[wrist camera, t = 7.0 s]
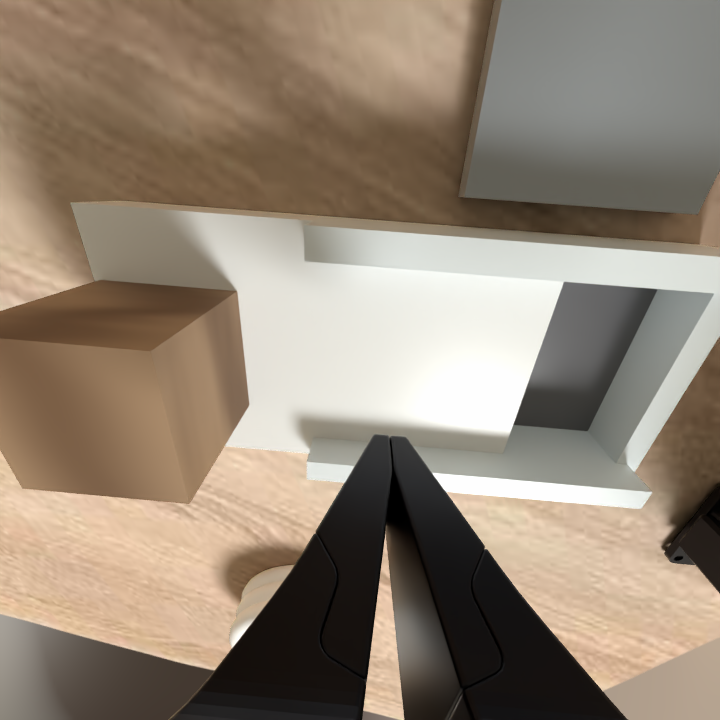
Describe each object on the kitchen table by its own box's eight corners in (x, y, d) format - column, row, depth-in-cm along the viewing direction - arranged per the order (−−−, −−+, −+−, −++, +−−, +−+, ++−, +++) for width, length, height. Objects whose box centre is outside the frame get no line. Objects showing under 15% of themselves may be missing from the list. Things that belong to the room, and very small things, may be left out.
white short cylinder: (235, 555, 24) (214, 611, 21) (372, 564, 23) (371, 622, 20) (253, 626, 28) (237, 680, 25) (367, 635, 28) (366, 690, 25)
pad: (833, -127, 8) (886, -165, 7) (673, 212, 12) (697, 214, 11) (520, -145, 8) (537, -184, 8) (458, 196, 12) (464, 197, 11)
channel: (700, 244, 12) (827, 265, 9) (596, 444, 17) (653, 510, 14) (123, 200, 13) (26, 203, 9) (173, 407, 17) (121, 462, 14)
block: (237, 291, 12) (150, 351, 7) (249, 405, 14) (189, 503, 10) (100, 279, 12) (-68, 332, 7) (135, 395, 14) (22, 488, 10)
